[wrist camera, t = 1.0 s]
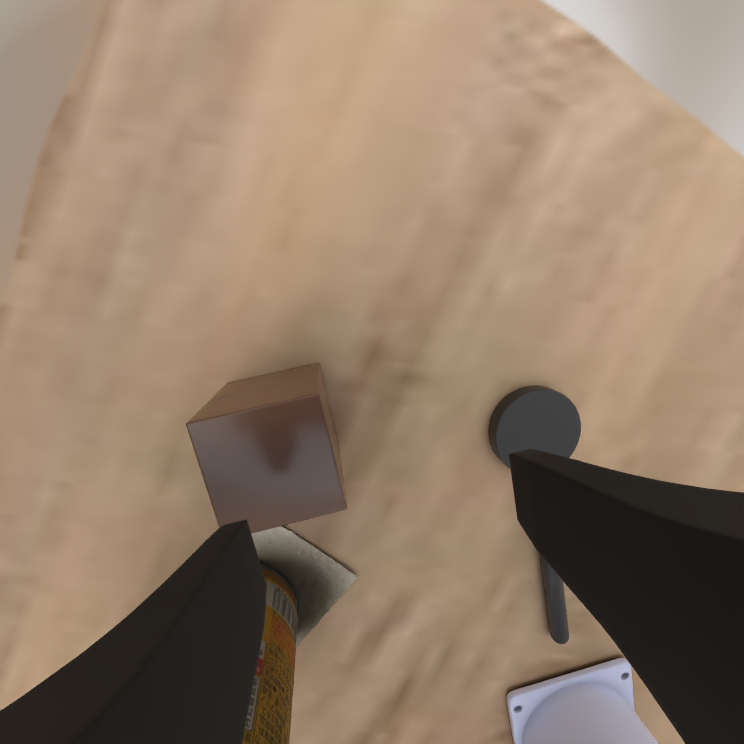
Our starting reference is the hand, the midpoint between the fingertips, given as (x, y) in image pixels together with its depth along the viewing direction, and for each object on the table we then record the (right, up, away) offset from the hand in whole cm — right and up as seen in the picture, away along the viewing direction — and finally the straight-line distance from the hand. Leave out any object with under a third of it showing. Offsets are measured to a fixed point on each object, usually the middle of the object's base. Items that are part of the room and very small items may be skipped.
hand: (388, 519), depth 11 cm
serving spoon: (+9, -4, +12) cm, 15 cm away
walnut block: (-5, +2, +9) cm, 10 cm away
